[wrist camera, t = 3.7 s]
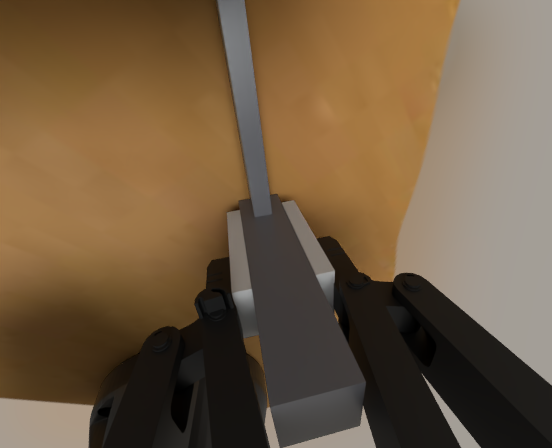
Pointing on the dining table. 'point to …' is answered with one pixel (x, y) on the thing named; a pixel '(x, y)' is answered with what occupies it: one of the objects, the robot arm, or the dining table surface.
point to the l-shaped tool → (286, 281)
